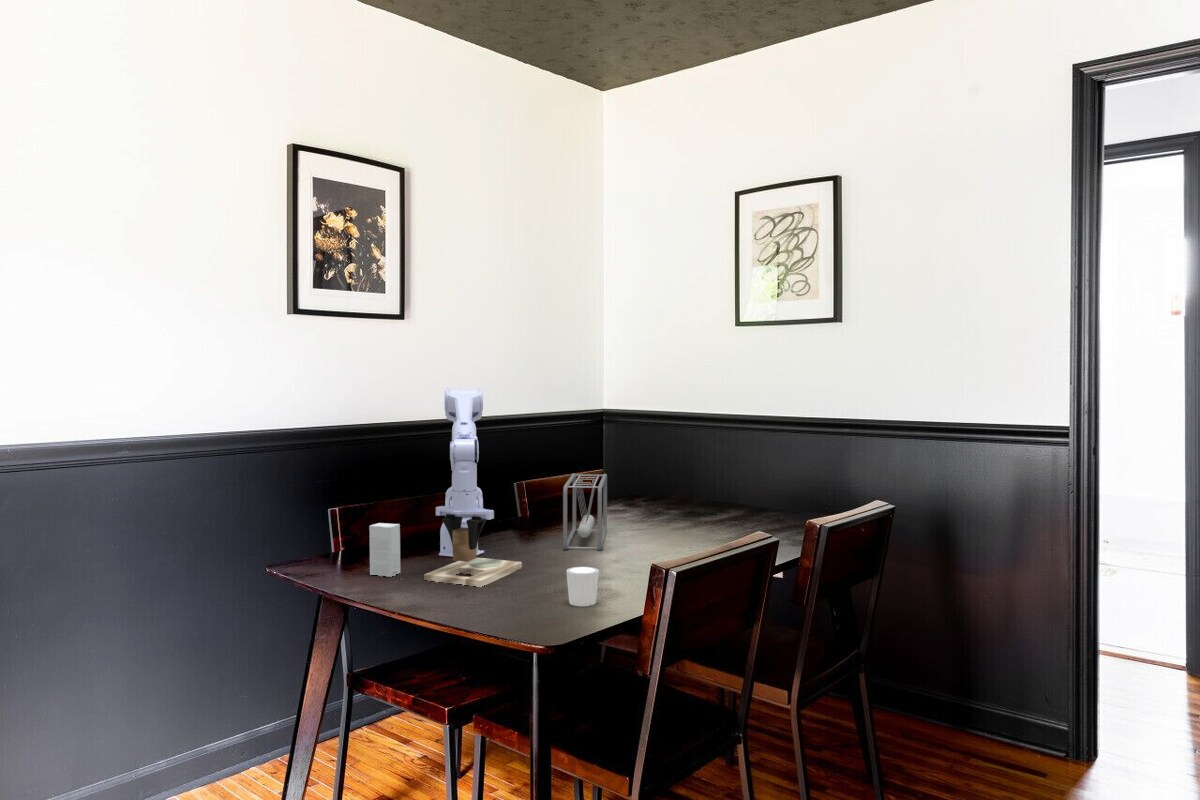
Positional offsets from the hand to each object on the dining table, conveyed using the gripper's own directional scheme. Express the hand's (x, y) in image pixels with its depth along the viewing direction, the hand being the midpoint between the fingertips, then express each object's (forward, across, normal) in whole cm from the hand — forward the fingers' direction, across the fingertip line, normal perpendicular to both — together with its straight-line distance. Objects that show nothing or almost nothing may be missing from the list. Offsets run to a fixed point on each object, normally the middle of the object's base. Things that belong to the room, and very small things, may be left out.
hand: (464, 547), depth 199 cm
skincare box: (+8, -20, -4) cm, 21 cm away
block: (+3, 0, 0) cm, 3 cm away
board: (+7, 0, +4) cm, 8 cm away
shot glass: (+7, +34, -8) cm, 35 cm away
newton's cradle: (+8, +9, +52) cm, 53 cm away
